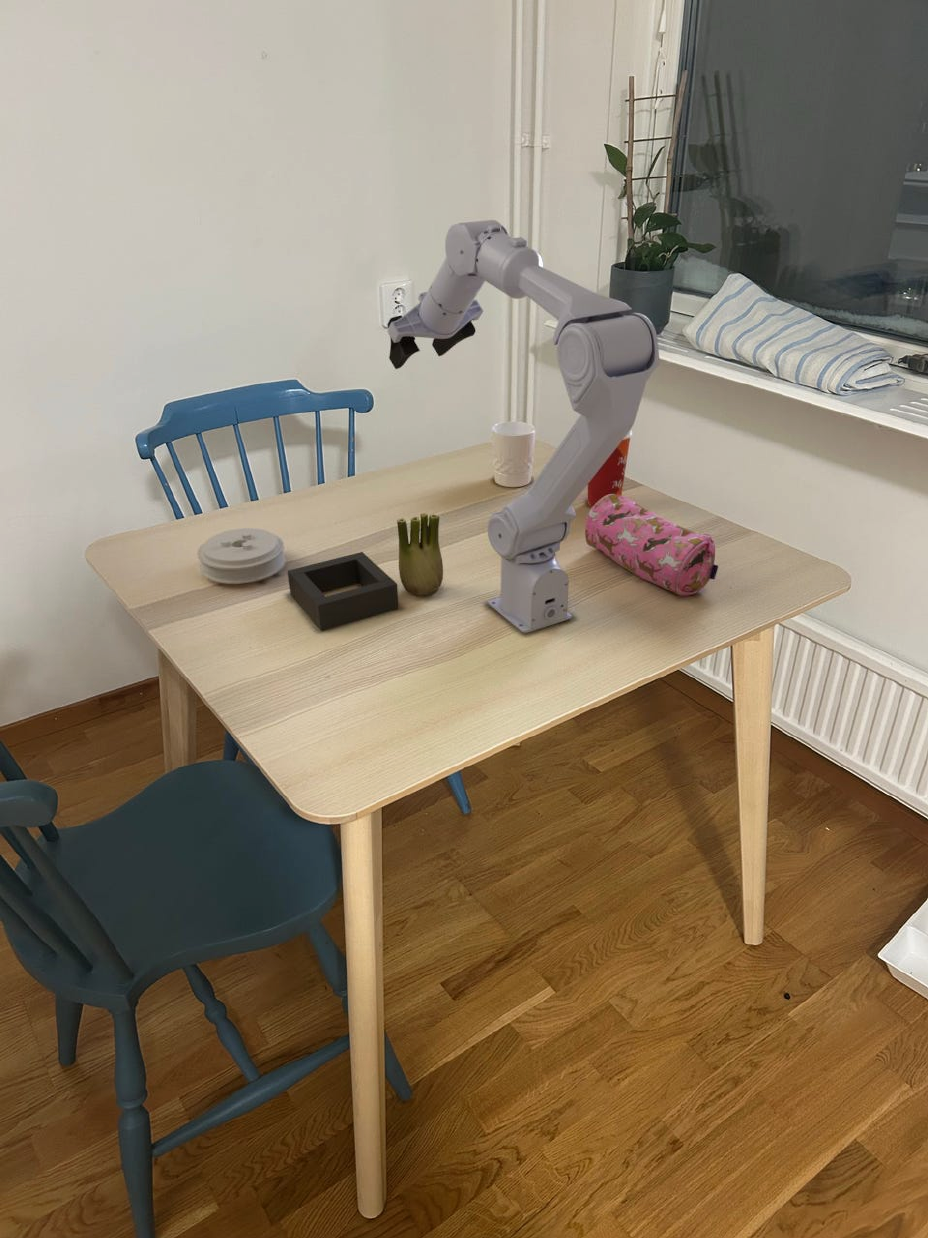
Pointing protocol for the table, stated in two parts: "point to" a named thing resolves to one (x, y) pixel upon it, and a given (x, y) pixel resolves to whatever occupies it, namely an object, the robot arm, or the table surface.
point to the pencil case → (651, 545)
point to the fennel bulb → (420, 555)
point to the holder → (345, 606)
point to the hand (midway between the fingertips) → (416, 356)
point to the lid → (241, 556)
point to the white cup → (513, 453)
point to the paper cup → (610, 474)
